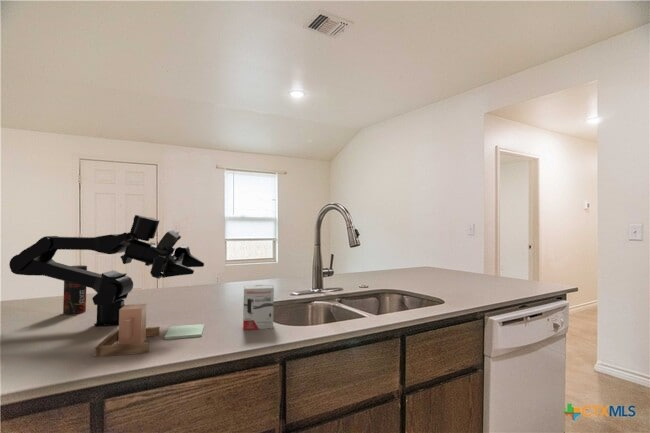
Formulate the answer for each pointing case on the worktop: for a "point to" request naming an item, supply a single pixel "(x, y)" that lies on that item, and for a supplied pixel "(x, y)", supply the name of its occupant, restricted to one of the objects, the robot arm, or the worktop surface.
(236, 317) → the worktop surface
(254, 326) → the ink box
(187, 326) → the green mat
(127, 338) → the block with side knob
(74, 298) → the deodorant
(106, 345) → the walnut cradle
